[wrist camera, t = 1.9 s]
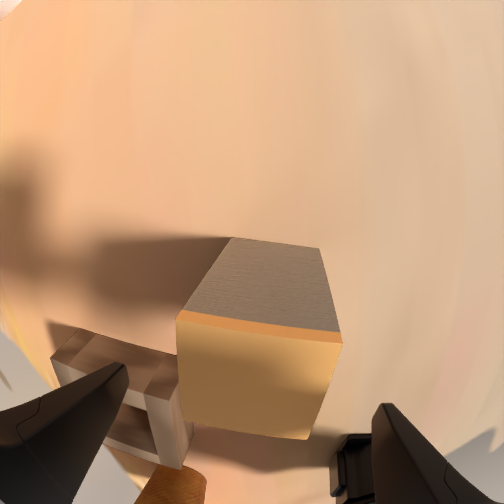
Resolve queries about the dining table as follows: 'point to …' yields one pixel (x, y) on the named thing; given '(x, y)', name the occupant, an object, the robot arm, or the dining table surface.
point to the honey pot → (7, 7)
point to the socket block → (134, 396)
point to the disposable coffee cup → (173, 487)
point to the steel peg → (258, 341)
